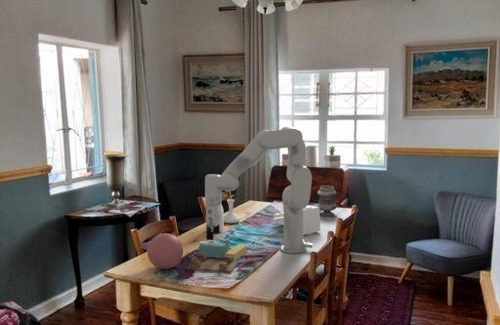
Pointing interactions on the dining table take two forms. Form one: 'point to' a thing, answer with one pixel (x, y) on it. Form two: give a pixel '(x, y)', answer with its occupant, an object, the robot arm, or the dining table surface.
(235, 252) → the tan wooden bar
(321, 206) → the apothecary jar
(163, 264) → the balloon
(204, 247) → the teal notched block
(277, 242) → the dining table surface
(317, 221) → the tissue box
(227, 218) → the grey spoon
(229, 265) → the jig
